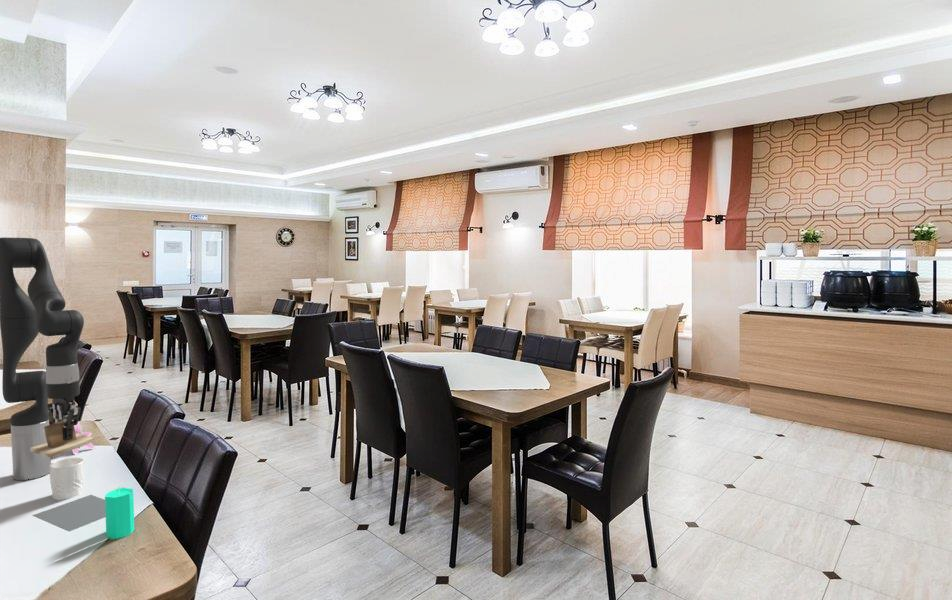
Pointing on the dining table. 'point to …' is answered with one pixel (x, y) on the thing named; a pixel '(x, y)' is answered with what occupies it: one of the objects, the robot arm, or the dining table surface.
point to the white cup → (66, 478)
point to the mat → (75, 513)
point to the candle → (119, 513)
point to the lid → (59, 441)
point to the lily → (79, 430)
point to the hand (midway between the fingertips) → (65, 438)
